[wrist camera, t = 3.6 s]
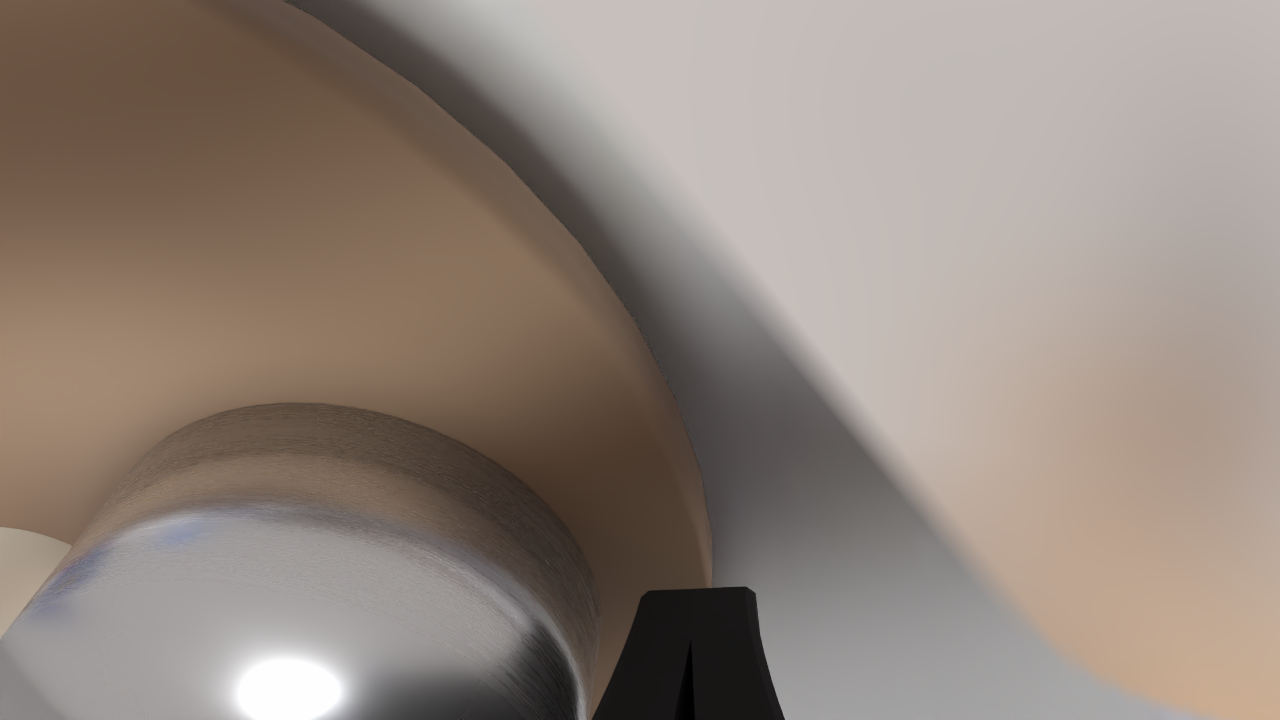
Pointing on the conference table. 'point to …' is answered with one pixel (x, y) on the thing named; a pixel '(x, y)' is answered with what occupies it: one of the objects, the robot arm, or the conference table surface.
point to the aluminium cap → (311, 584)
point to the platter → (300, 283)
